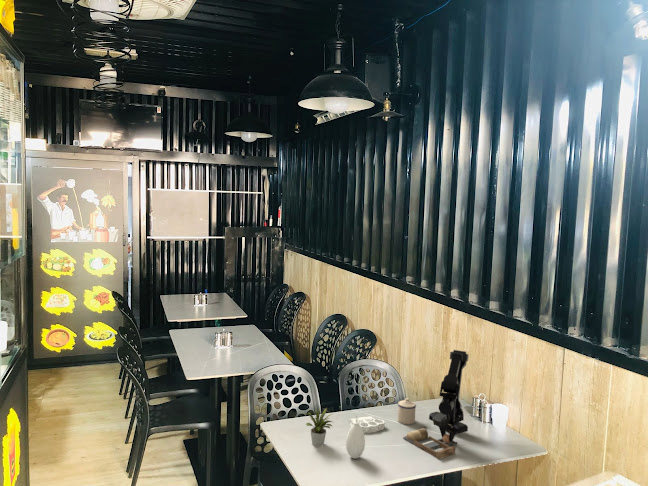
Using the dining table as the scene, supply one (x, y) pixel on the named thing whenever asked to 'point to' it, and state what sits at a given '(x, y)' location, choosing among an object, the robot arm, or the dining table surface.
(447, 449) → the walnut lane
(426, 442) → the runway mat
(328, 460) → the dining table surface
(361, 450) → the white vase
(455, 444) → the grey square frame
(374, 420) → the white paint palette
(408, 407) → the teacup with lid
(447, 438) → the ball
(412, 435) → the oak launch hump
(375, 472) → the dining table surface
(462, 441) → the dining table surface
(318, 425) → the house plant
